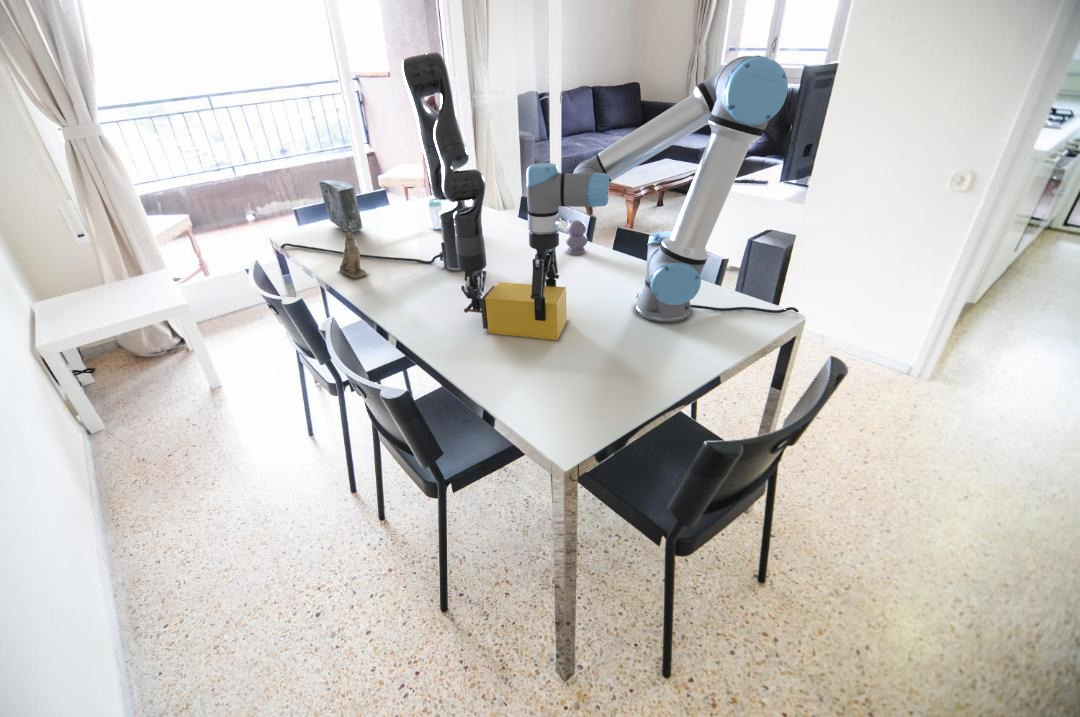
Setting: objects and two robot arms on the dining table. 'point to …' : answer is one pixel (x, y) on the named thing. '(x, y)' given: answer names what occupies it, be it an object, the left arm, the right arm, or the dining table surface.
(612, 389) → the dining table surface
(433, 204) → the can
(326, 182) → the concrete block
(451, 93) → the left robot arm
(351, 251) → the brown carved statuette
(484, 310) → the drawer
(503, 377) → the dining table surface
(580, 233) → the grey rounded figurine
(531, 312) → the yellow box
